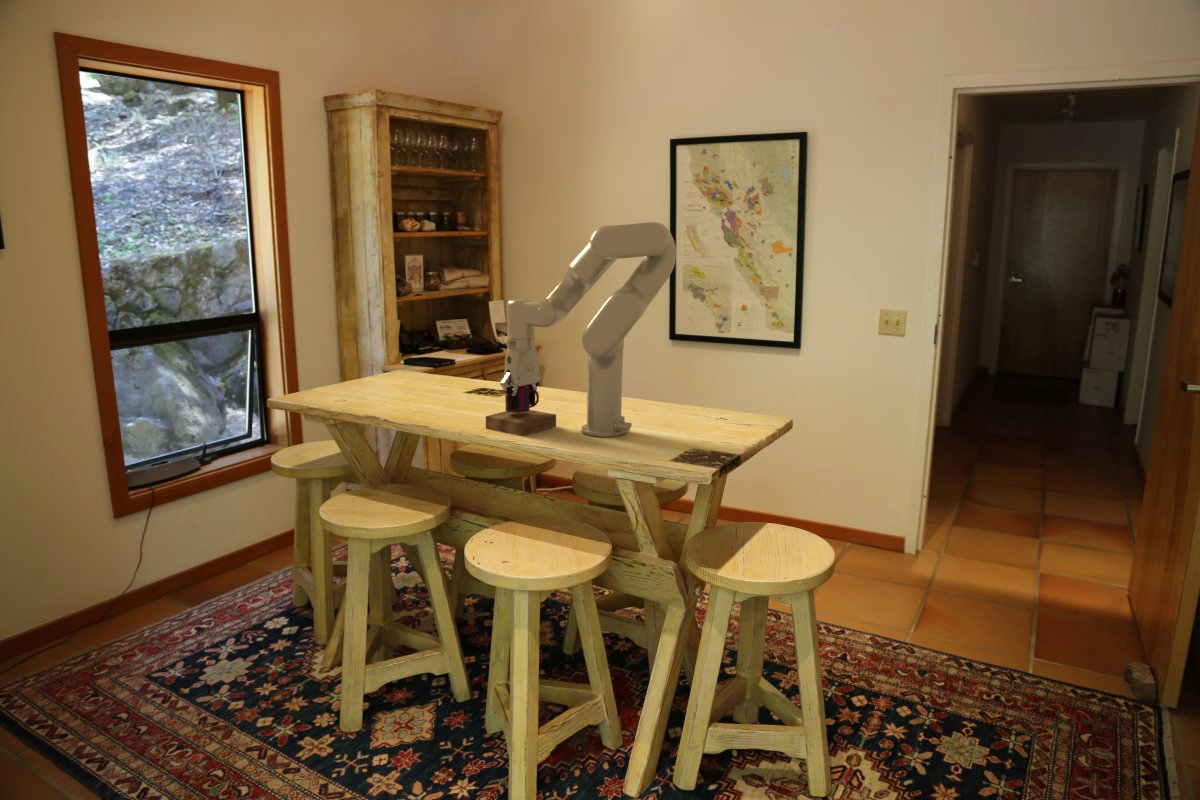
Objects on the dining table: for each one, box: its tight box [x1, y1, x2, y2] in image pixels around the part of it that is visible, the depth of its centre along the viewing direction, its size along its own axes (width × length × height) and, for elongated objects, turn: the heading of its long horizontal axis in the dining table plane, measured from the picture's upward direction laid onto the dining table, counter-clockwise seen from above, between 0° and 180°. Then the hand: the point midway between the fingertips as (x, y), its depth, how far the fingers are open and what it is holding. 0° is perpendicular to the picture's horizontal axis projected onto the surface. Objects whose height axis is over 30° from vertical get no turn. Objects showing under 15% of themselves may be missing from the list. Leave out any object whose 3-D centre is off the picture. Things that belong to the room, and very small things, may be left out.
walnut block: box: [485, 409, 557, 437], centre depth 238 cm, size 14×14×4 cm
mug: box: [504, 385, 540, 413], centre depth 237 cm, size 7×10×7 cm
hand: (521, 406), depth 237 cm, fingers closed on mug, 6 cm apart
